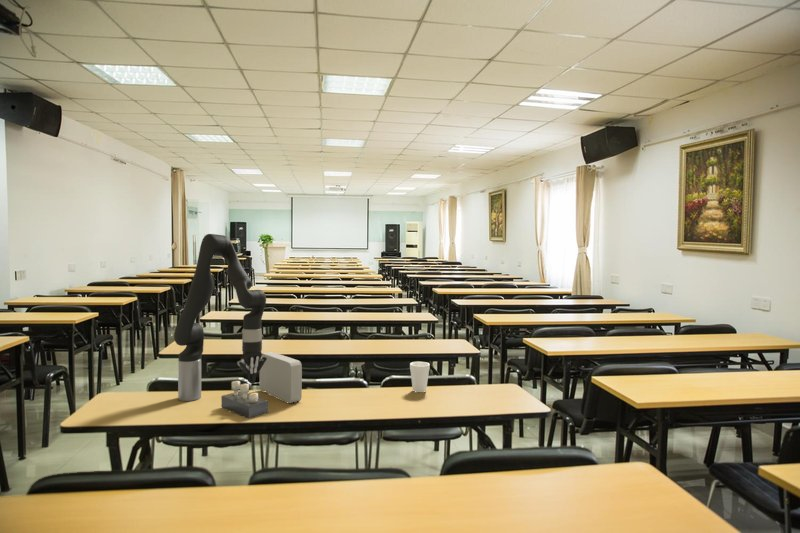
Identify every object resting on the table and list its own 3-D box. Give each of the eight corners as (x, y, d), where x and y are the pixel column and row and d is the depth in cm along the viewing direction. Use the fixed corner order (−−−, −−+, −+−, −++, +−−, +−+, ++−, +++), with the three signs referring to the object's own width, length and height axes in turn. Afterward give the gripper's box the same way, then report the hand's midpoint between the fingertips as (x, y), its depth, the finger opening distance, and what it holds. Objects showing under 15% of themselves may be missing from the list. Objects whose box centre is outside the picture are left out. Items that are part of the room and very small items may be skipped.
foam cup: (410, 387, 226) (411, 361, 225) (429, 388, 225) (430, 361, 224) (409, 393, 216) (409, 365, 216) (428, 394, 215) (429, 366, 215)
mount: (221, 407, 193) (221, 395, 193) (240, 402, 200) (240, 390, 200) (248, 418, 181) (248, 406, 181) (268, 412, 188) (268, 400, 188)
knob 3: (247, 412, 186) (247, 393, 186) (254, 410, 189) (254, 391, 189) (252, 414, 184) (252, 395, 184) (259, 412, 187) (259, 393, 186)
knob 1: (230, 399, 194) (230, 381, 194) (237, 397, 197) (237, 380, 197) (234, 401, 192) (234, 383, 192) (241, 399, 195) (241, 381, 195)
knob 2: (238, 403, 190) (238, 384, 190) (245, 401, 193) (246, 382, 193) (243, 404, 188) (243, 386, 188) (250, 402, 191) (250, 384, 190)
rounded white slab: (306, 401, 203) (306, 360, 203) (290, 405, 198) (291, 363, 197) (274, 387, 224) (274, 350, 223) (259, 390, 218) (259, 352, 218)
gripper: (261, 336, 194) (260, 377, 194) (232, 340, 183) (231, 383, 184) (271, 338, 189) (271, 380, 189) (242, 343, 179) (242, 387, 179)
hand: (251, 382), depth 187 cm, fingers closed
